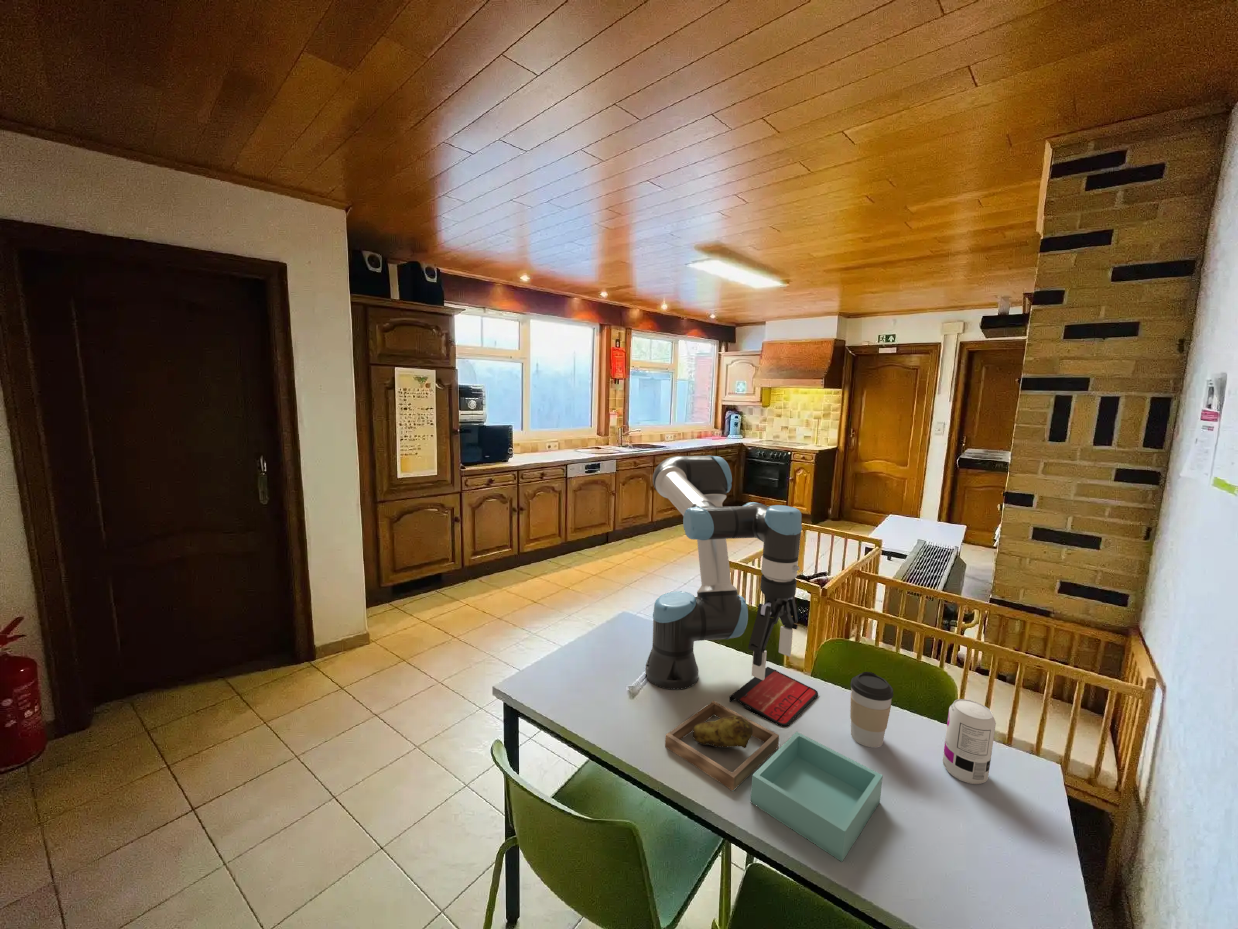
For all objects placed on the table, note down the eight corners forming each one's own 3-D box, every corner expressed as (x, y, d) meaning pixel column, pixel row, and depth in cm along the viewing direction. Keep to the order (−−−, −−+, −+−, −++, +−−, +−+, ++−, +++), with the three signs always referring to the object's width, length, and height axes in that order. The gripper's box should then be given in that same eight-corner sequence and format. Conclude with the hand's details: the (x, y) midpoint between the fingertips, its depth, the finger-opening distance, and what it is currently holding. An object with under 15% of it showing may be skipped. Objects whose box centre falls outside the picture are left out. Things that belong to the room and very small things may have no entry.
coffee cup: (893, 754, 116) (900, 693, 114) (850, 747, 118) (856, 687, 116) (881, 728, 125) (887, 671, 123) (842, 723, 127) (847, 666, 125)
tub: (750, 802, 102) (752, 775, 101) (794, 756, 115) (796, 731, 114) (842, 862, 89) (845, 831, 88) (879, 802, 102) (882, 775, 101)
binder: (729, 695, 134) (767, 665, 150) (728, 703, 135) (766, 672, 150) (787, 725, 124) (821, 690, 139) (785, 734, 124) (820, 698, 139)
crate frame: (665, 746, 117) (665, 734, 116) (713, 711, 130) (713, 700, 130) (733, 791, 104) (733, 777, 104) (778, 747, 118) (779, 735, 117)
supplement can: (933, 764, 113) (941, 702, 111) (958, 755, 117) (966, 694, 114) (971, 791, 106) (980, 724, 104) (996, 780, 109) (1005, 715, 107)
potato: (704, 726, 124) (706, 696, 123) (755, 749, 117) (757, 717, 116) (688, 744, 118) (689, 712, 117) (740, 770, 110) (743, 736, 109)
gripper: (769, 597, 101) (762, 695, 104) (817, 566, 120) (809, 650, 123) (735, 586, 106) (729, 681, 109) (786, 558, 125) (779, 640, 128)
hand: (771, 665), depth 116 cm, fingers open, 13 cm apart
